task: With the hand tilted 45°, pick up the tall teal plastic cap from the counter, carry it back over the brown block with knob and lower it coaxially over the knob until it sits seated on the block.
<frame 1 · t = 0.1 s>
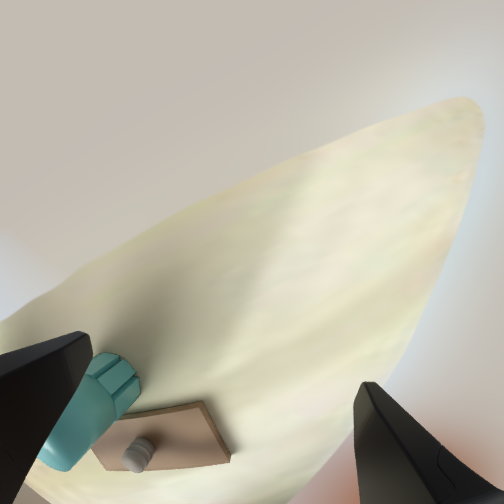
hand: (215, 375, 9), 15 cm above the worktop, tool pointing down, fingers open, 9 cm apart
teal cap: (114, 379, 26), on the worktop
brown block with knob: (148, 440, 26), on the worktop
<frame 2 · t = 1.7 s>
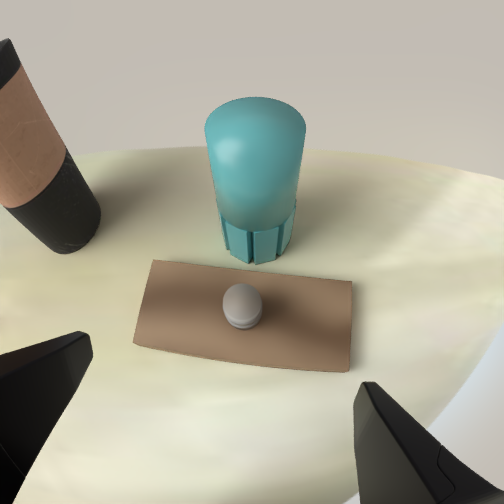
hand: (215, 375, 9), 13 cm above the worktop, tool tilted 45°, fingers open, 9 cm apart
teal cap: (256, 233, 26), on the worktop
travel mug: (73, 225, 28), on the worktop
brown block with knob: (244, 318, 23), on the worktop
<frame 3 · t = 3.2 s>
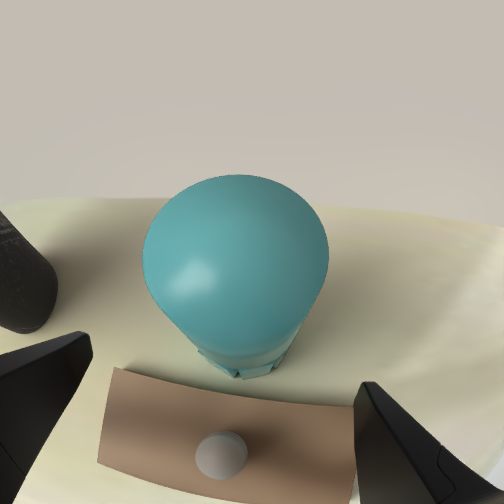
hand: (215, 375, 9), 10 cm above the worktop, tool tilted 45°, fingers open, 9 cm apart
teal cap: (245, 335, 20), on the worktop
travel mug: (29, 296, 21), on the worktop
brown block with knob: (227, 446, 16), on the worktop
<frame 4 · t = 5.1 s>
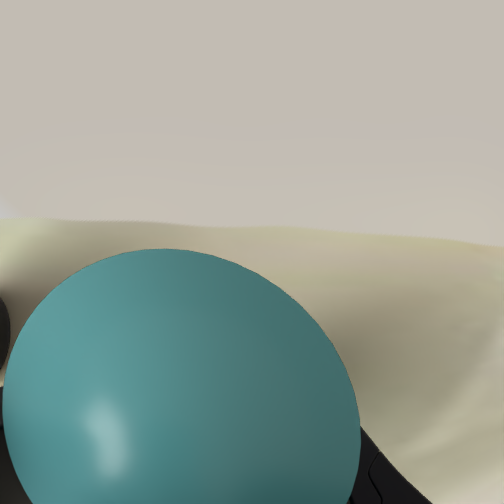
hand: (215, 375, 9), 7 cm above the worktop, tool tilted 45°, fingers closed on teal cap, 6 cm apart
teal cap: (227, 411, 14), on the worktop, touching gripper
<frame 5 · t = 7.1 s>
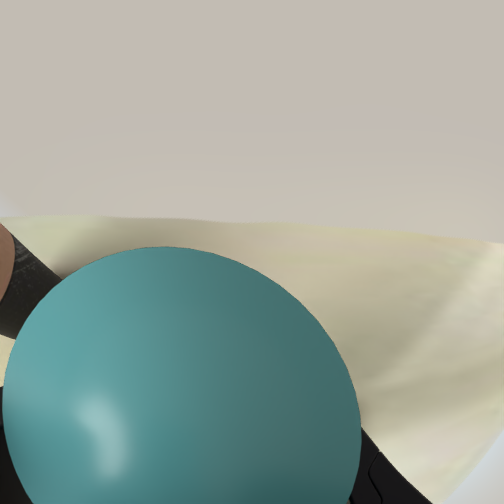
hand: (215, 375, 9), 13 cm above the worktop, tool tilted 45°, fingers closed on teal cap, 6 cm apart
teal cap: (227, 411, 14), point 7 cm above the worktop, touching gripper
travel mug: (44, 310, 23), on the worktop
when the fingers open (8 cm above the worktop, at t = 9.1 s): teal cap stays where it is, resting on brown block with knob.
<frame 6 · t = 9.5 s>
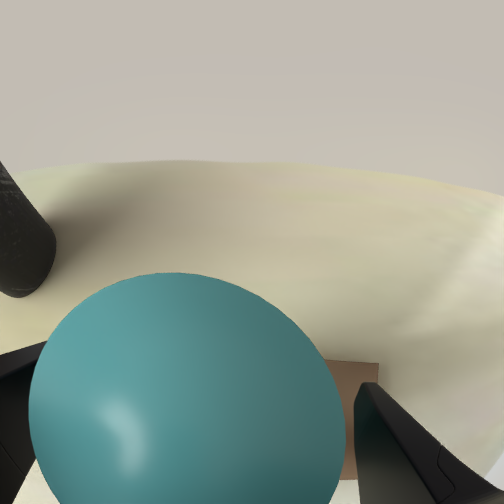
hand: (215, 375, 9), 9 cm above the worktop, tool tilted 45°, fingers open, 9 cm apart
teal cap: (228, 411, 15), point 1 cm above the worktop, touching brown block with knob
travel mug: (26, 259, 20), on the worktop
brown block with knob: (230, 410, 16), on the worktop
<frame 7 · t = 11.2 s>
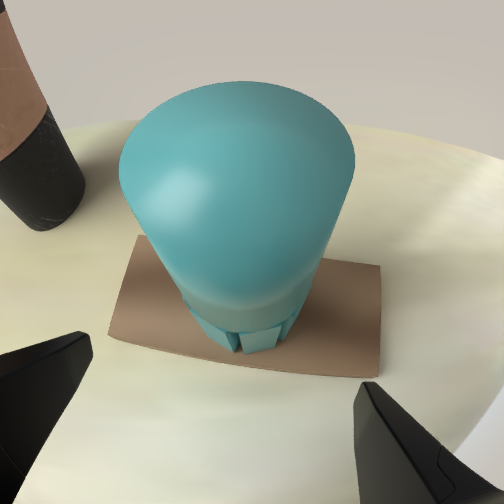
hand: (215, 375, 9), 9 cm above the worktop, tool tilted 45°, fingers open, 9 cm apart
teal cap: (247, 304, 17), point 1 cm above the worktop, touching brown block with knob
travel mug: (54, 199, 23), on the worktop
brown block with knob: (247, 309, 18), on the worktop
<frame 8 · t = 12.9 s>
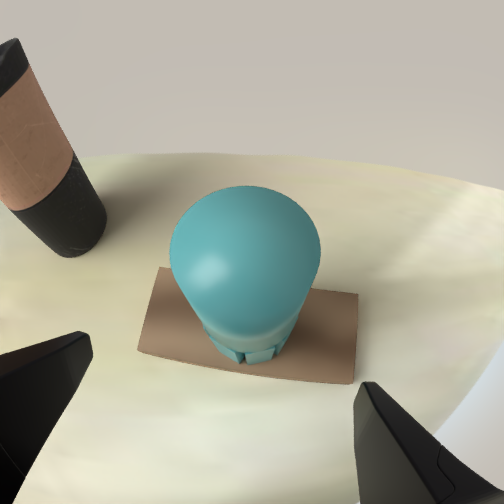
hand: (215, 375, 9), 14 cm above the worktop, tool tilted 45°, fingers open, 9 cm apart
teal cap: (250, 326, 22), point 1 cm above the worktop, touching brown block with knob
travel mug: (78, 228, 28), on the worktop
brown block with knob: (250, 329, 23), on the worktop
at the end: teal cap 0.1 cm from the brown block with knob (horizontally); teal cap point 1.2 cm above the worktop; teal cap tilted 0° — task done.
